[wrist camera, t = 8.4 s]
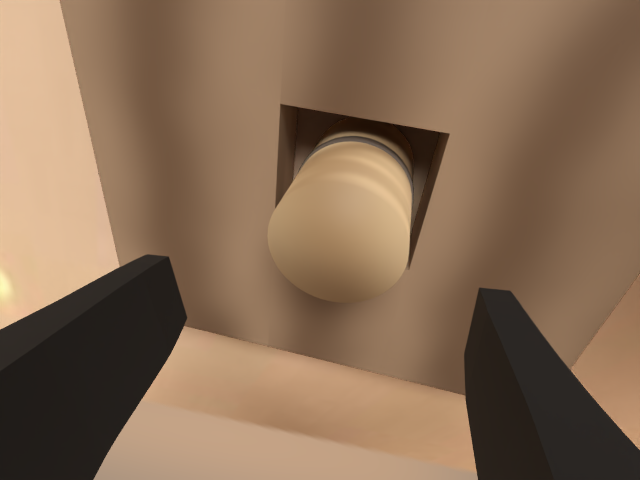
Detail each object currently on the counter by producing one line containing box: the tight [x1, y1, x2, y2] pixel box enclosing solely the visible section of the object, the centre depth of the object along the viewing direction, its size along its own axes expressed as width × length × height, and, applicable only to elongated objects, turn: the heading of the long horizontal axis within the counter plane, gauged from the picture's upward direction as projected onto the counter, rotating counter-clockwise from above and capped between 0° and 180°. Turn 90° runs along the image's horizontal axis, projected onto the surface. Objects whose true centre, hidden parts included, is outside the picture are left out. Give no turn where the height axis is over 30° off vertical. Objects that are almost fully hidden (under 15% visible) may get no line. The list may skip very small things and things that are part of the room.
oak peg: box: [267, 117, 414, 303], centre depth 14 cm, size 4×4×6 cm
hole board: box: [60, 0, 640, 395], centre depth 15 cm, size 20×18×2 cm
